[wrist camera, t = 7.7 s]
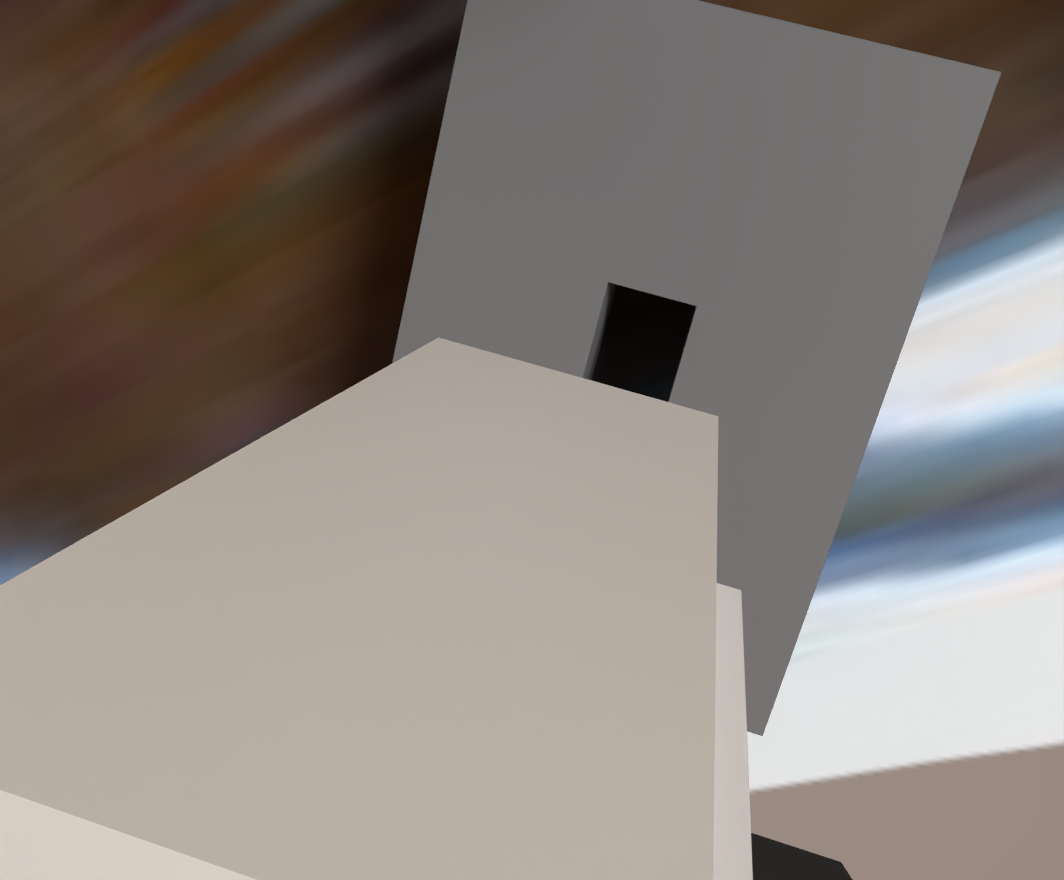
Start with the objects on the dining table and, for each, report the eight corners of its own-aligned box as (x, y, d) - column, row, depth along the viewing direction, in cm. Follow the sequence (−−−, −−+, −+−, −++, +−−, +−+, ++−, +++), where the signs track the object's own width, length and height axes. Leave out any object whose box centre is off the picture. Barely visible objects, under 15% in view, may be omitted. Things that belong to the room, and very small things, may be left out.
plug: (501, 301, 16) (-222, 711, 4) (719, 361, 15) (711, 1037, 3) (422, 634, 17) (-247, 1661, 5) (616, 695, 17) (363, 1948, 5)
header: (508, -24, 31) (478, -52, 27) (965, 85, 29) (1001, 72, 25) (381, 558, 37) (342, 603, 33) (758, 675, 35) (762, 735, 31)
